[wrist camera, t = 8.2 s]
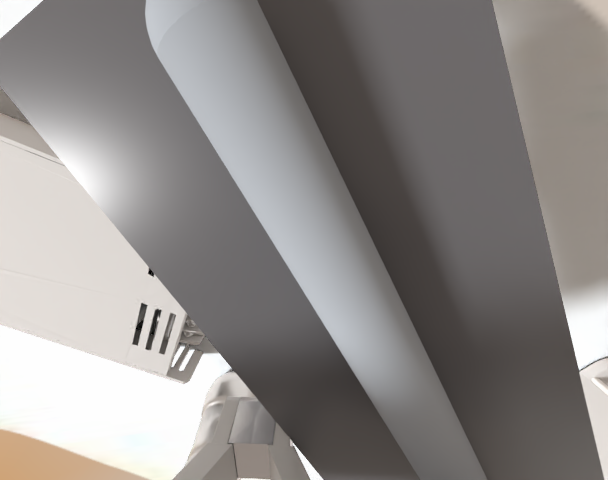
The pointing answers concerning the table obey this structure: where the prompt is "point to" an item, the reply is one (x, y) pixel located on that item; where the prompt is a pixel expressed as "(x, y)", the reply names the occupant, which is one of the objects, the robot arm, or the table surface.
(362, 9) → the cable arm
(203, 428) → the plastic bottle
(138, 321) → the power supply unit
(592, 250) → the table surface
